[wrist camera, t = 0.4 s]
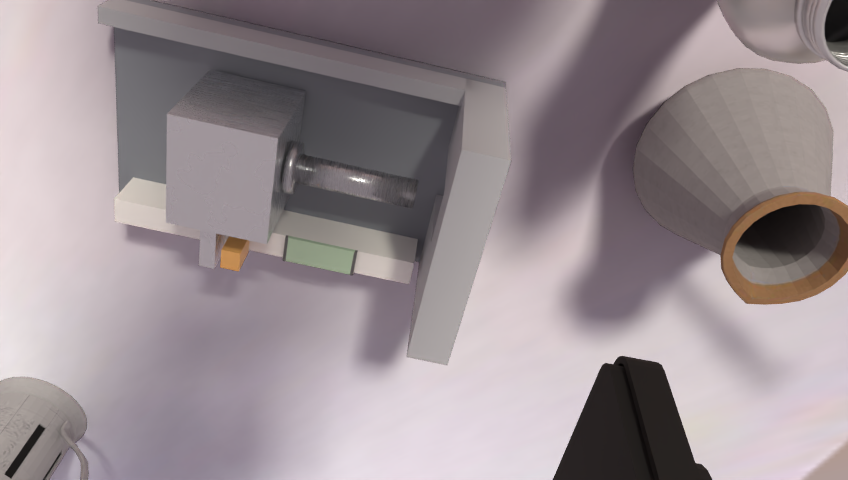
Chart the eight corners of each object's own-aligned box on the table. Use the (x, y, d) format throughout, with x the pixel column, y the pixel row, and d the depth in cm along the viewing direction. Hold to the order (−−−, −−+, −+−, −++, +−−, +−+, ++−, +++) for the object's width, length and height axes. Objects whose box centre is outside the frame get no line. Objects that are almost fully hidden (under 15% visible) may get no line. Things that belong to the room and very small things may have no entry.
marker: (231, 231, 46) (221, 249, 44) (250, 235, 46) (240, 253, 44) (230, 248, 47) (220, 267, 45) (248, 252, 47) (238, 271, 45)
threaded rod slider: (209, 69, 43) (167, 113, 38) (431, 119, 44) (423, 171, 38) (203, 218, 49) (165, 276, 44) (398, 260, 50) (387, 322, 44)
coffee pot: (592, 181, 47) (632, 324, 35) (690, 21, 41) (781, 125, 29) (858, 289, 50) (983, 456, 38) (985, 155, 44) (1185, 302, 32)
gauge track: (120, -7, 43) (19, 50, 33) (505, 82, 44) (511, 160, 35) (125, 190, 50) (44, 281, 41) (453, 261, 51) (447, 365, 42)
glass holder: (-31, 382, 62) (-161, 534, 50) (114, 364, 60) (14, 518, 47) (20, 450, 67) (-87, 604, 54) (157, 435, 64) (77, 593, 52)
